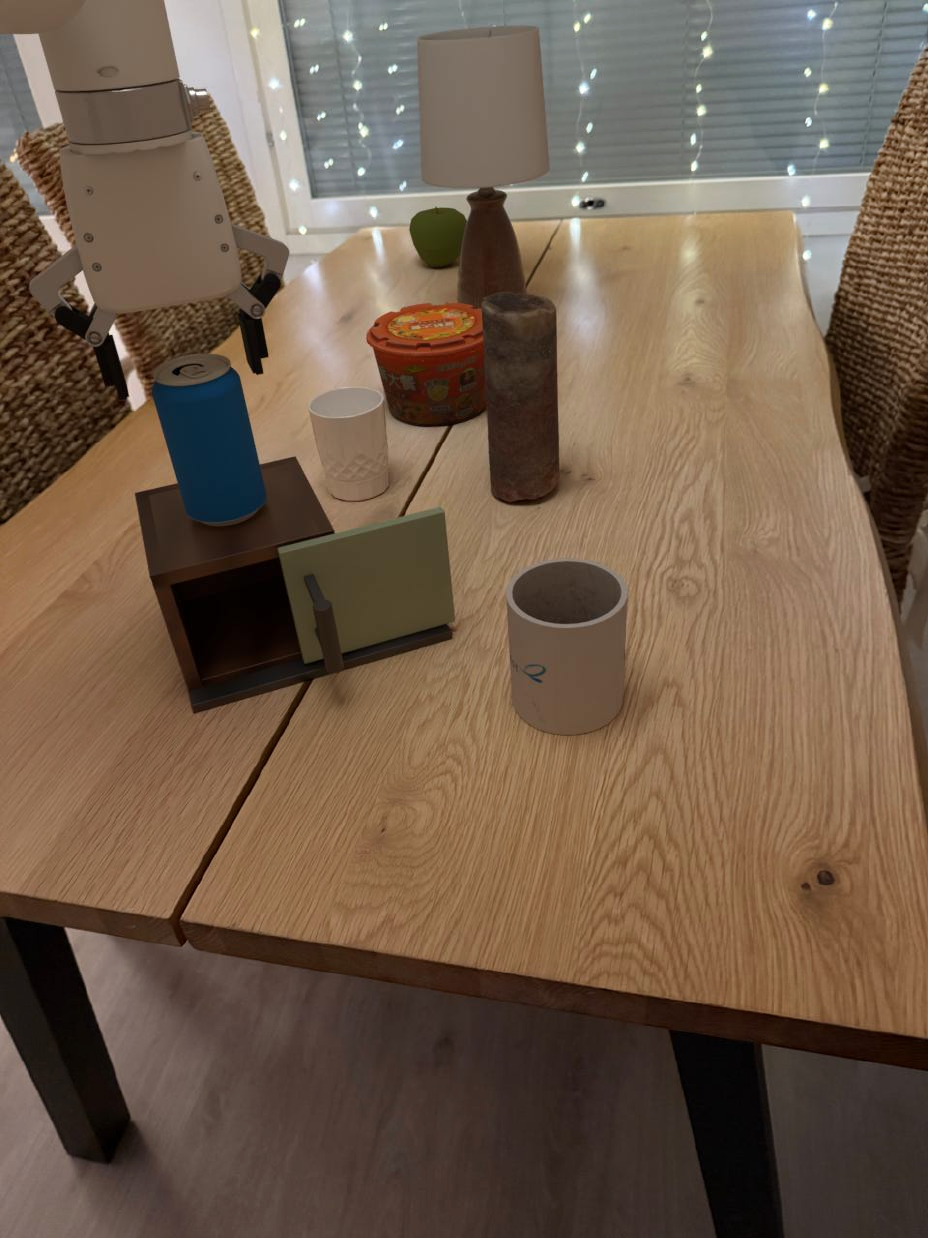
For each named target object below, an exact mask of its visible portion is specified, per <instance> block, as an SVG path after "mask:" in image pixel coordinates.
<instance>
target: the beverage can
mask: <svg viewBox="0 0 928 1238" xmlns="http://www.w3.org/2000/svg"><path fill="white" fill-rule="evenodd" d="M152 377H153V379H154V382H153V383H152V386H151V387H152V388H151V396H152V399H153V403H154V407H155V409H156V413H157V417H158V420H159V424H160V427H161V430H162V434H163V437H164V440H165V444H166V448H167V451H168V454H169V455H168V456H169V458H170V462H171V465H172V469H173V472H174V476H175V479H176V482H177V483H178V486H179V489H180V493H181V496H182V500H183V503H184V507H185V510H186V513H187V514H188V516H189V517H191V518H192V519H194V520H196V521H199V522H202V523H204V524H206V525H210V526H228V525H233V524H237V523H240V522H243V521H245V520H247V519H249V518H250V517H252V516H253V515H254V514H255V513H256V512H257V511H258V509H259V508H260V507H262V505H263V504H264V503H265V501H266V498H267V494H266V490H265V485H264V481H263V477H262V472H261V468H260V464H261V462H260V460H259V459H260V458H259V455H258V450H257V446H256V441H255V437H254V433H253V429H252V424H251V420H250V415H249V411H248V406H247V402H246V397H245V393H244V389H243V384H242V379H241V375H240V374H239V373H238V371H237V370H236V369H234V367H233V366H232V362H231V360H230V358H229V357H226V356H225V355H222V354H218V353H195V354H188V355H183V356H179V357H176V358H172V359H169V360H167V361H165V362H163V363H162V364H159V365H158V366H156V368H155V369H154V370H153V372H152Z"/></svg>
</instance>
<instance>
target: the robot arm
mask: <svg viewBox="0 0 928 1238" xmlns="http://www.w3.org/2000/svg"><path fill="white" fill-rule="evenodd" d="M165 2H166V1H165V0H0V35H38V37H39V38H38V39H39V41H40V44H41V48H42V51H43V55H44V59H45V62H46V66H47V69H48V72H49V76H50V80H51V83H52V86H53V90H54V94H55V98H56V101H57V105H58V109H59V112H60V117H61V119H62V123H63V126H64V129H65V133H66V134H65V135H66V136H67V141H68V145H67V146H64V147H61V148H59V150H58V153H59V165H60V174H61V180H62V185H63V192H64V198H65V203H66V208H67V211H68V215H69V216H68V217H69V220H70V221H69V222H70V224H71V228H72V233H73V237H74V238H73V239H74V242H75V245H73V246H72V247H71V248H70V249H68V250H67V251H66V252H65V253H64V254H62V255H61V256H60V257H58V258H57V259H56V260H55V261H53V262H51V263H50V265H48V266H47V267H45V268H44V269H43V270H42V271H41V272H39V273H38V274H37V275H35V276H34V277H33V278H32V279H31V280H30V281H29V287H28V289H29V293H30V294H31V296H32V297H33V298H34V299H35V300H36V301H37V302H38V303H39V304H40V305H41V306H42V307H43V308H44V310H46V311H47V312H48V313H49V314H50V316H52V317H53V319H54V320H55V322H56V323H57V324H58V325H59V326H61V327H63V328H65V329H66V330H68V331H70V332H71V333H73V334H75V335H76V336H77V337H79V338H81V339H83V340H84V341H86V343H87V344H88V345H89V346H90V347H92V348H93V351H94V354H95V358H96V361H97V364H98V368H99V372H100V374H101V377H102V381H103V385H104V387H105V388H108V387H115V390H116V392H117V393H116V394H117V397H118V400H119V402H120V401H124V400H125V401H126V400H128V398H130V394H129V388H128V384H127V380H126V377H125V376H126V375H125V372H124V370H123V367H122V364H121V359H120V356H119V352H118V349H117V346H116V342H115V338H114V335H113V334H110V330H111V329H112V326H113V325H114V323H115V321H116V319H117V317H118V315H119V314H130V313H136V312H143V311H149V310H155V309H163V308H167V307H168V308H169V307H174V306H179V305H187V304H193V303H199V302H203V301H209V300H215V299H220V298H224V297H226V298H228V299H229V300H230V301H231V302H233V303H234V304H235V305H236V306H237V307H238V308H239V310H238V311H239V312H237V319H238V324H239V329H240V333H241V338H242V344H243V348H244V353H245V358H246V362H247V365H248V366H249V368H250V370H251V372H252V374H254V375H256V376H258V375H259V376H260V375H264V368H263V367H264V366H263V363H262V359H266V358H269V350H268V344H267V339H266V334H265V329H264V323H263V317H264V316H265V314H266V309H267V308H268V306H269V305H270V304H271V302H272V301H273V299H274V297H275V296H276V295H277V293H278V292H279V290H280V289H281V286H282V278H283V276H284V274H285V270H286V266H287V264H288V260H289V257H290V249H289V247H288V246H287V245H286V244H285V242H284V241H283V242H282V241H281V240H278V239H276V238H272V237H270V236H267V235H264V234H262V233H259V232H256V231H253V230H251V229H248V228H246V227H242V226H240V225H237V224H234V223H232V222H231V219H230V216H229V211H228V208H227V204H226V200H225V197H224V196H225V195H224V193H223V189H222V187H221V184H220V181H219V178H218V175H217V172H216V168H215V165H214V162H213V158H212V156H211V152H210V150H209V147H208V144H207V142H206V140H205V138H204V135H203V133H202V132H199V131H192V128H193V125H192V121H195V117H197V116H200V114H203V113H210V112H211V104H210V99H209V94H208V91H207V88H198V89H195V88H194V86H192V87H188V85H187V84H185V83H184V82H183V80H182V79H181V75H180V71H179V65H178V61H177V56H176V51H175V47H174V41H173V37H172V32H171V27H170V22H169V18H168V12H167V8H166V3H165ZM238 249H241V250H243V251H247V252H250V253H251V254H255V255H258V256H260V257H263V258H264V264H263V267H262V271H261V273H260V274H259V275H258V277H257V278H256V280H255V282H254V283H253V284H252V285H251V287H250V288H249V287H248V286H247V285H246V284H245V283H243V281H242V279H243V276H242V275H243V274H242V267H241V262H240V257H239V252H238ZM82 272H83V276H84V279H85V282H86V286H87V288H88V291H89V293H90V296H91V299H92V300H93V305H92V307H91V308H90V310H89V312H88V314H87V313H85V312H84V311H81V310H80V309H79V308H77V307H75V305H72V304H71V303H68V301H66V299H65V298H64V297H63V296H62V295H61V293H60V292H59V290H60V289H61V288H62V287H63V286H65V285H66V284H67V283H69V282H70V281H71V280H72V279H74V278H75V277H76V276H77V275H79V274H80V273H82Z"/></svg>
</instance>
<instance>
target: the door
mask: <svg viewBox="0 0 928 1238" xmlns="http://www.w3.org/2000/svg"><path fill="white" fill-rule="evenodd" d="M447 534H448V532H447V521H446V512H445V511H444V509H443V508H442V507H441V506H439V507H433V508H430V509H426V510H422V511H419V512H415V513H410V514H407V515H403V516H398V517H395V518H391V519H388V520H387V519H386V520H382V521H378V522H375V523H371V524H368V525H367V524H366V525H363V526H359V527H355V528H350V529H347V530H343V531H340V532H339V531H338V532H336V533H335V534H331V535H327V536H323V537H319V538H315V539H311V540H307V541H303V542H299V543H295V544H291V545H287V546H283V547H279V548H277V550H278V554H279V558H280V563H281V567H282V571H283V576H284V580H285V585H286V589H287V593H288V598H289V602H290V606H291V611H292V615H293V619H294V624H295V628H296V633H297V637H298V641H299V646H300V650H301V654H302V658H303V661H304V663H305V664H307V663H310V662H314V661H317V660H321V659H324V663H325V668H326V671H327V672H329V673H330V674H337V673H340V672H342V671H343V670H342V669H343V667H344V664H343V659H342V653H345V652H349V651H352V650H356V649H359V648H363V647H366V646H370V645H373V644H377V643H380V642H384V641H387V640H391V639H394V638H398V637H401V636H405V635H408V634H412V633H415V632H419V631H422V630H426V629H429V628H433V627H437V626H440V625H444V624H450V623H453V622H456V616H455V604H454V603H455V602H454V594H453V583H452V574H451V573H452V572H451V563H450V554H449V543H448V535H447Z"/></svg>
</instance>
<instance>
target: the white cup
mask: <svg viewBox="0 0 928 1238" xmlns="http://www.w3.org/2000/svg"><path fill="white" fill-rule="evenodd" d="M385 407H386V406H385V396H384V393H382V392H381V391H379V390H378V389H375V388H372V387H369V386H357V385H354V386H353V385H352V386H351V385H350V386H342V387H337V388H332V389H329V390H325V391H323V392H321V393H319V394H317V395H315V396H314V397H313V398H311V399H310V400H309V402H308V404H307V409H308V414H309V418H310V423H311V427H312V432H313V436H314V440H315V444H316V448H317V452H318V455H319V460H320V464H321V467H322V470H323V471H324V475H325V480H326V481H325V482H326V485H327V490H328V493H329V494H331V496H332V497H334V498H335V499H338V500H342V501H345V502H360V501H365V500H369V499H372V498H376V497H378V496H379V495H381V494H383V493H384V492H385V491H386V490H387V489H388V488H389V486H390V480H389V479H390V478H389V444H388V433H387V420H386V409H385Z"/></svg>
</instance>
